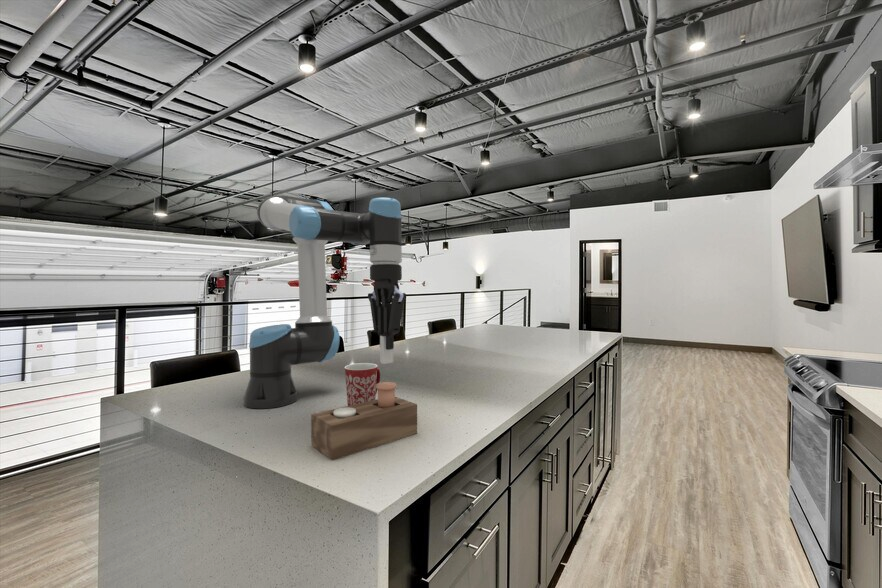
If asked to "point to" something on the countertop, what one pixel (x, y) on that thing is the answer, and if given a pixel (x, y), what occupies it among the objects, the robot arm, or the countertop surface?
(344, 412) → the cream plug
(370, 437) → the walnut block
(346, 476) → the countertop surface
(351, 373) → the mug
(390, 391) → the terracotta plug
